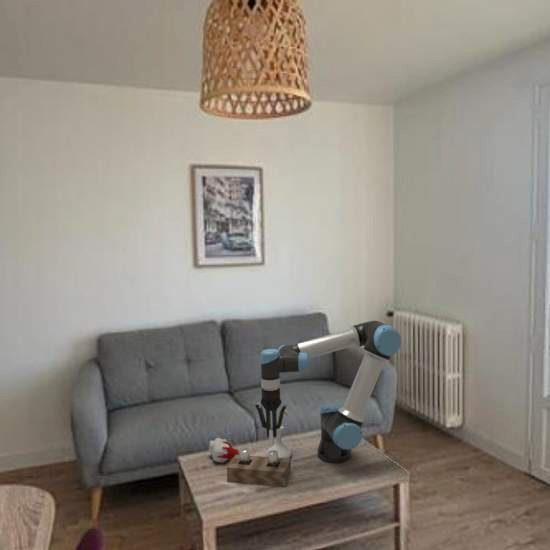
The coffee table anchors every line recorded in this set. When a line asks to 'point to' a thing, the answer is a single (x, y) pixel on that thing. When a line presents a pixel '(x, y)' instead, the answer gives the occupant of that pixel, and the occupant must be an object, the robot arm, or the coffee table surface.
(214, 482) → the coffee table surface
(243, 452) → the steel peg
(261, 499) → the coffee table surface
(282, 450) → the flower in vase
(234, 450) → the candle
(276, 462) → the steel peg
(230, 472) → the walnut block
